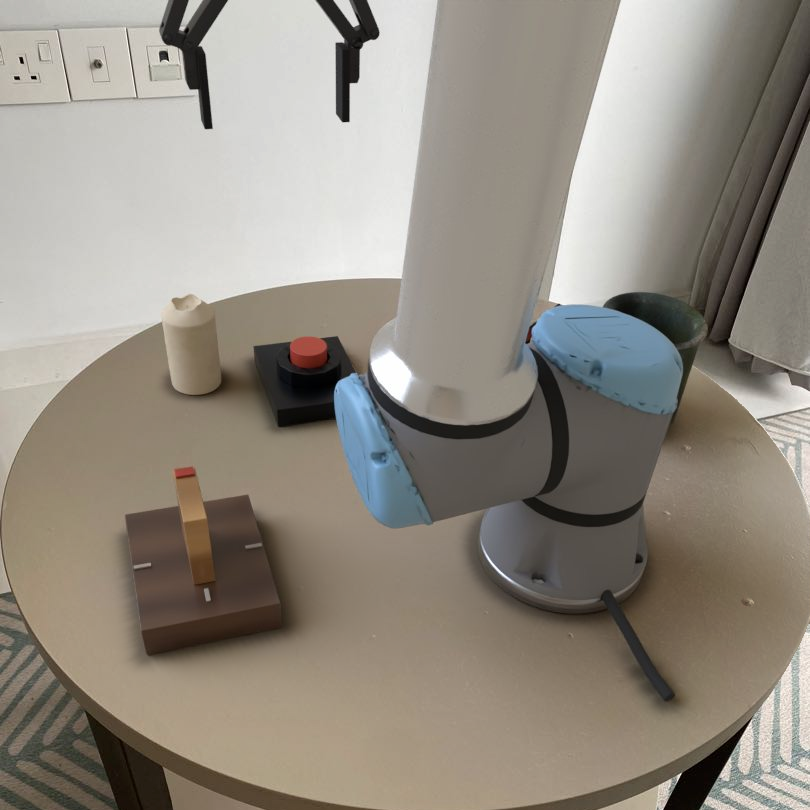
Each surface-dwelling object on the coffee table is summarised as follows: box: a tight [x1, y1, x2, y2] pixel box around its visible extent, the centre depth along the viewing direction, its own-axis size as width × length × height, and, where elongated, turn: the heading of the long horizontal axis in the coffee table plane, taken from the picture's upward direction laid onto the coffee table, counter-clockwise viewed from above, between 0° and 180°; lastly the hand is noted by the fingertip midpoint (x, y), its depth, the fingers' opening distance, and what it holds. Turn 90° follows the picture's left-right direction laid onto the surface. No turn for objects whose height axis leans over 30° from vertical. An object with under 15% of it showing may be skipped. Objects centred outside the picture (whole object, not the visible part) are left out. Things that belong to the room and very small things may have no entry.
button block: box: [253, 335, 357, 428], centre depth 97 cm, size 13×10×4 cm
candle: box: [160, 293, 222, 396], centre depth 94 cm, size 6×6×10 cm
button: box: [290, 336, 327, 368], centre depth 95 cm, size 4×4×2 cm
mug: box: [602, 291, 709, 430], centre depth 92 cm, size 11×15×12 cm
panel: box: [124, 494, 283, 656], centre depth 75 cm, size 14×11×3 cm
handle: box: [172, 465, 216, 585], centre depth 71 cm, size 6×2×7 cm, turn 18°
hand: (276, 121), depth 86 cm, fingers open, 13 cm apart
